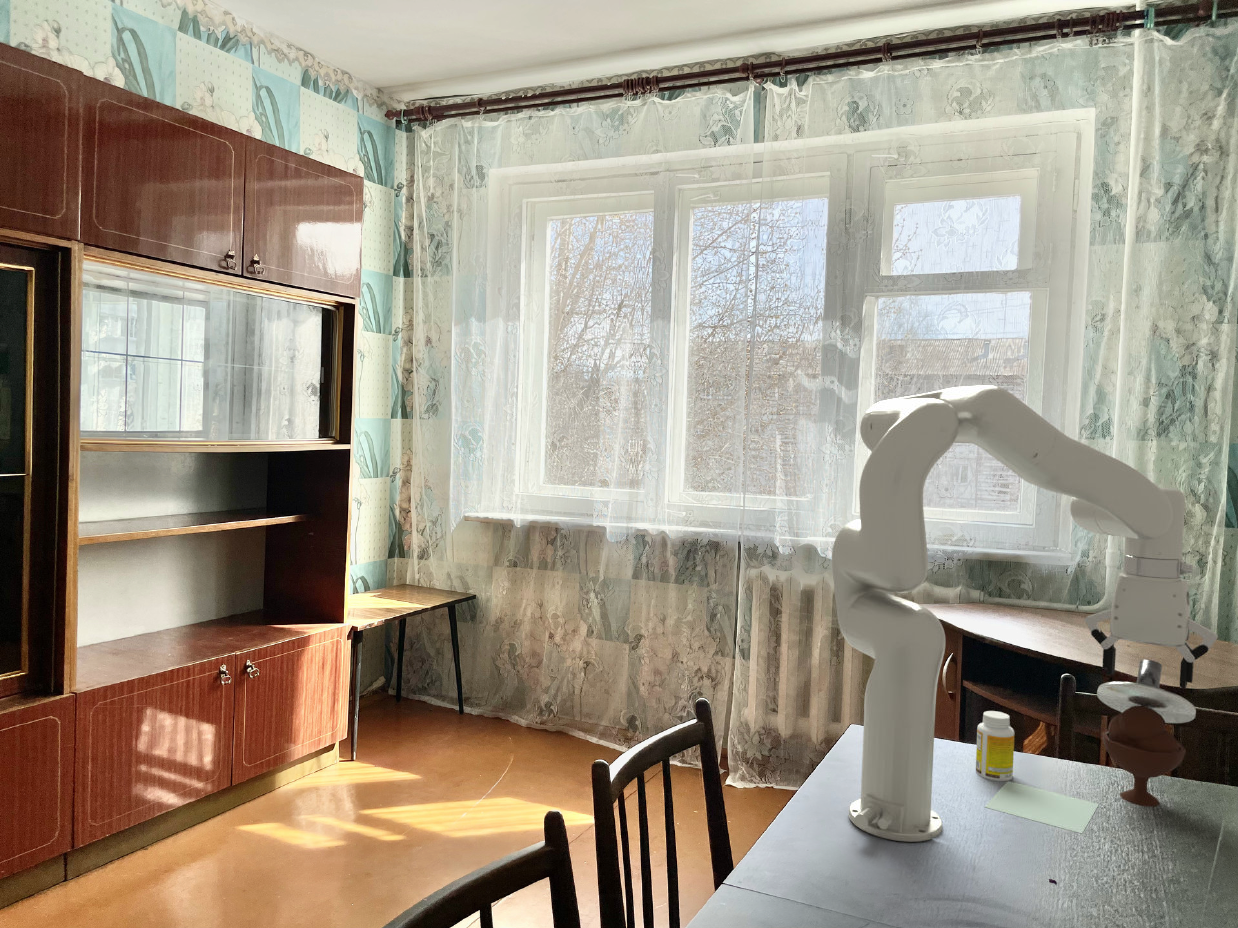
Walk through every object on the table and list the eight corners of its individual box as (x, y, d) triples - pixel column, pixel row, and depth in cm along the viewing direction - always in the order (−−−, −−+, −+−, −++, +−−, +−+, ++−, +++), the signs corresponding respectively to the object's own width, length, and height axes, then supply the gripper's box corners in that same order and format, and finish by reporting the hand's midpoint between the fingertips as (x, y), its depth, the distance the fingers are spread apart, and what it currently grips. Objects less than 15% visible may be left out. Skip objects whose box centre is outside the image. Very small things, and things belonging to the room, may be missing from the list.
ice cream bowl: (1198, 817, 130) (1204, 717, 129) (1121, 814, 130) (1127, 714, 129) (1156, 788, 140) (1161, 695, 140) (1085, 786, 141) (1090, 693, 140)
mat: (1081, 836, 123) (1082, 833, 123) (984, 809, 130) (984, 806, 130) (1099, 806, 133) (1099, 803, 133) (1007, 783, 141) (1007, 780, 141)
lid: (1194, 699, 127) (1199, 655, 129) (1092, 679, 134) (1100, 638, 137) (1196, 730, 136) (1201, 688, 138) (1101, 709, 143) (1107, 671, 146)
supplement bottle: (1020, 780, 142) (1023, 717, 142) (995, 785, 140) (998, 721, 139) (991, 768, 147) (994, 707, 147) (967, 772, 145) (970, 711, 144)
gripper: (1222, 572, 132) (1216, 686, 132) (1092, 559, 142) (1087, 664, 143) (1218, 578, 126) (1212, 697, 126) (1083, 564, 136) (1078, 673, 137)
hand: (1146, 679), depth 134 cm, fingers open, 9 cm apart
